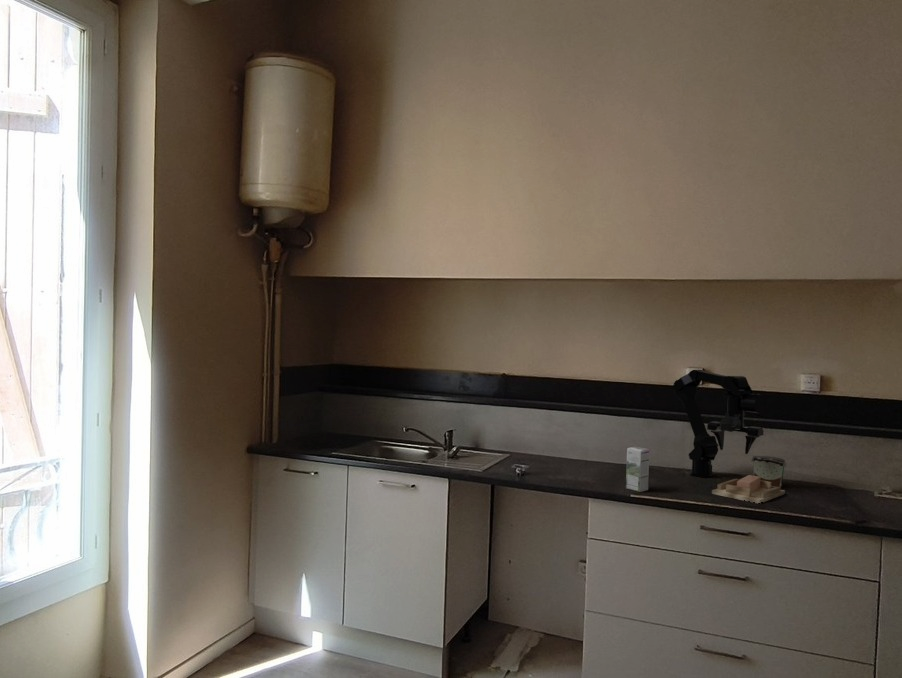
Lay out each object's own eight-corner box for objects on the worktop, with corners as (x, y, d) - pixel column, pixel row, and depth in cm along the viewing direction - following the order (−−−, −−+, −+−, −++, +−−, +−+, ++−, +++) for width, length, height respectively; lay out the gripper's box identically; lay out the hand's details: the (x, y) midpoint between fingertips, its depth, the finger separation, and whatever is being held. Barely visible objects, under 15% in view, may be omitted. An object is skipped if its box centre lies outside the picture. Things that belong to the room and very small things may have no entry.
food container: (791, 486, 241) (792, 459, 241) (784, 489, 237) (785, 461, 237) (757, 480, 250) (758, 454, 250) (750, 482, 246) (751, 455, 246)
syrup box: (648, 490, 228) (650, 448, 228) (639, 492, 224) (640, 450, 224) (634, 486, 233) (636, 446, 232) (624, 489, 229) (626, 447, 228)
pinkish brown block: (736, 492, 224) (737, 481, 224) (748, 486, 234) (748, 474, 234) (748, 494, 221) (749, 483, 221) (760, 488, 232) (760, 476, 232)
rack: (711, 493, 226) (712, 483, 226) (739, 484, 241) (739, 475, 241) (759, 503, 214) (759, 492, 214) (784, 493, 230) (785, 483, 229)
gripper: (701, 408, 243) (699, 450, 243) (752, 414, 229) (750, 458, 229) (714, 406, 250) (713, 447, 251) (765, 412, 237) (763, 455, 237)
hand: (733, 451), depth 242 cm, fingers open, 9 cm apart
